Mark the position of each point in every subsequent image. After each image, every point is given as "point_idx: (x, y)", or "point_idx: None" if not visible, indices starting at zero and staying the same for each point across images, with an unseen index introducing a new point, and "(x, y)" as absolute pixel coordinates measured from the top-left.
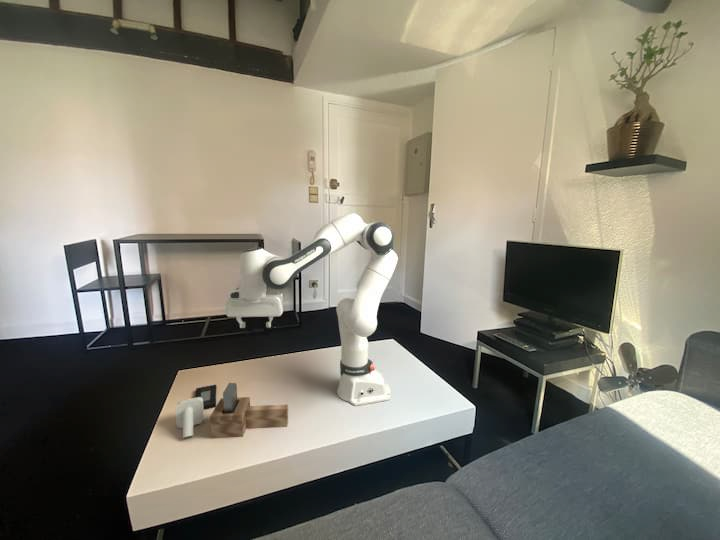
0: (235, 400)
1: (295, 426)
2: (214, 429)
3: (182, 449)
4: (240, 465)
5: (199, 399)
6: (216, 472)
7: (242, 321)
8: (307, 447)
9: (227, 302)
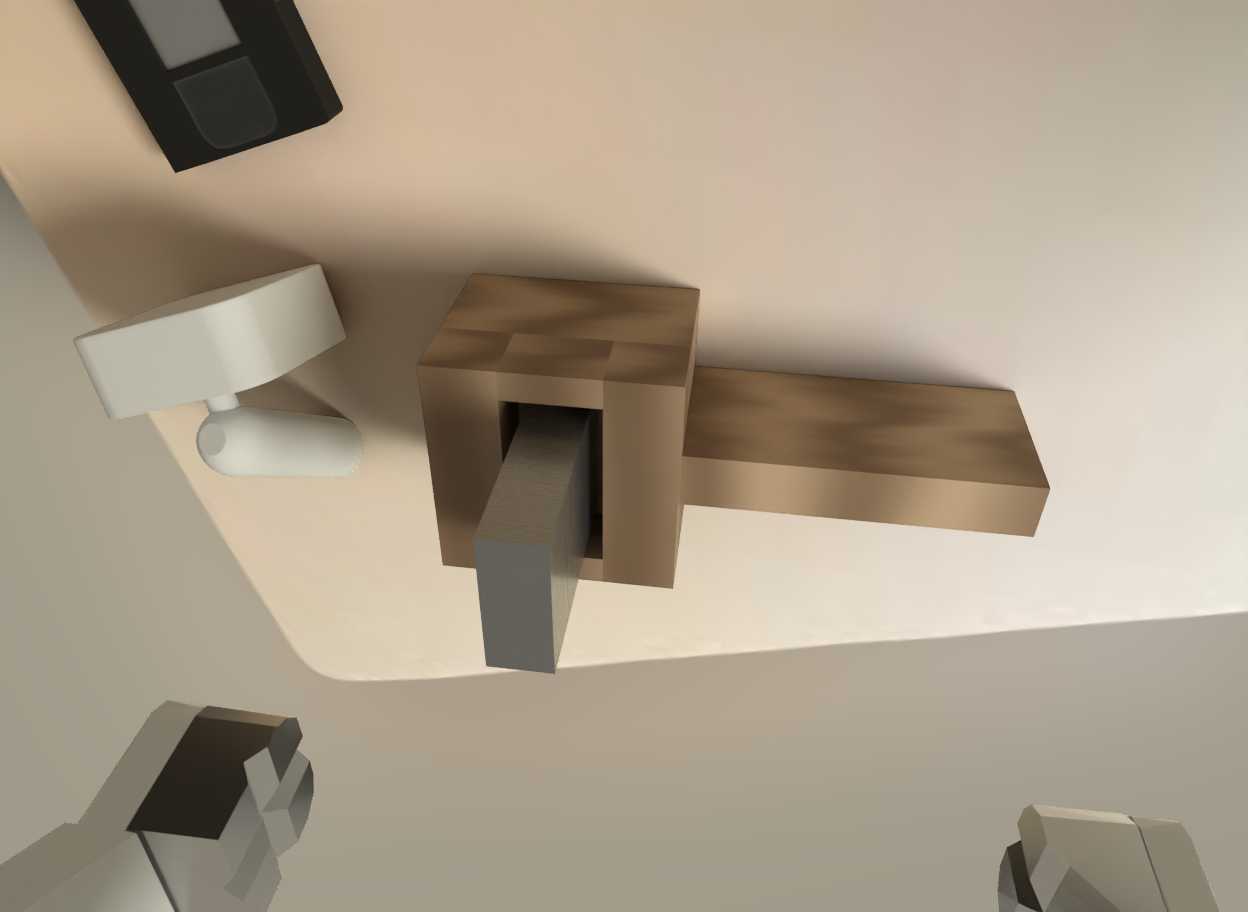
0: (579, 491)
1: (1065, 442)
2: None
3: (361, 508)
4: (723, 647)
5: (237, 370)
6: (614, 659)
7: (109, 865)
8: (1110, 612)
9: None
